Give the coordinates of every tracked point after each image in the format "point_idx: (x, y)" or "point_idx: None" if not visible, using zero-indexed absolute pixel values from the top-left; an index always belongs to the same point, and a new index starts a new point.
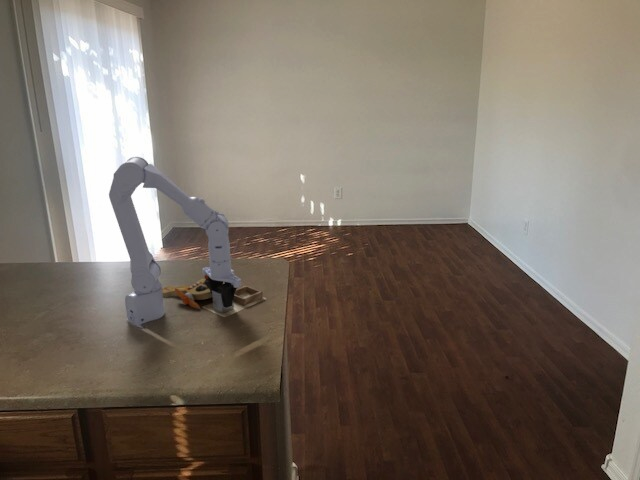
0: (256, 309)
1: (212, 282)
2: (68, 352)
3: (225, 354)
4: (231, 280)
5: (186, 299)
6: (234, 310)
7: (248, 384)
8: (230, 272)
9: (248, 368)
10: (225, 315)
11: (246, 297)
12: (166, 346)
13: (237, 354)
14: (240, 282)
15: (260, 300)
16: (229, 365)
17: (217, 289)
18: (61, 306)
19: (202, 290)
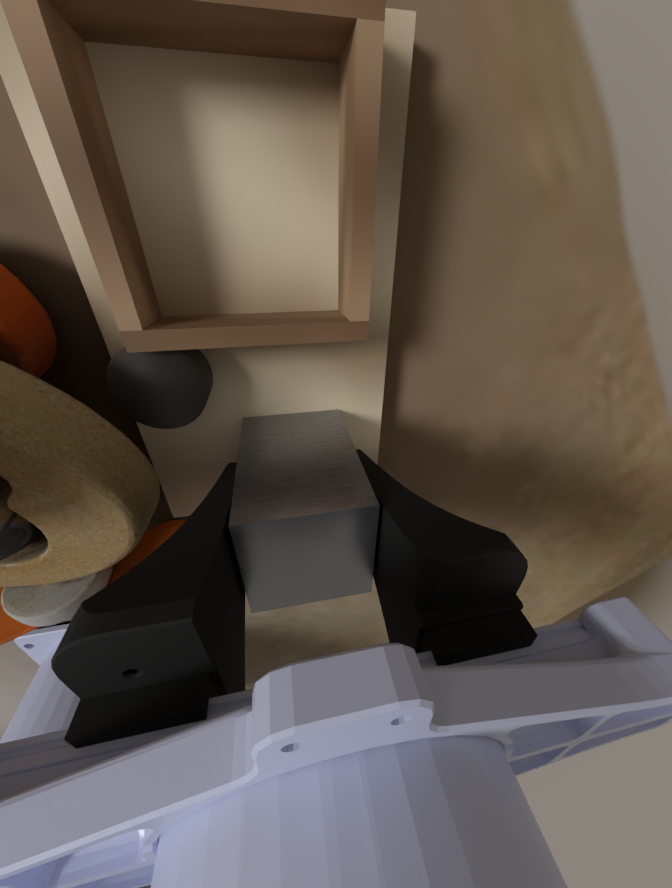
0: (421, 261)
1: (238, 686)
2: None
3: (528, 565)
4: (603, 741)
5: None
6: (355, 415)
7: (638, 574)
8: (528, 804)
9: (618, 553)
10: None
11: (355, 293)
12: (355, 644)
13: (561, 546)
14: (666, 647)
15: (390, 126)
16: (565, 575)
17: (267, 583)
18: None
19: (25, 544)
